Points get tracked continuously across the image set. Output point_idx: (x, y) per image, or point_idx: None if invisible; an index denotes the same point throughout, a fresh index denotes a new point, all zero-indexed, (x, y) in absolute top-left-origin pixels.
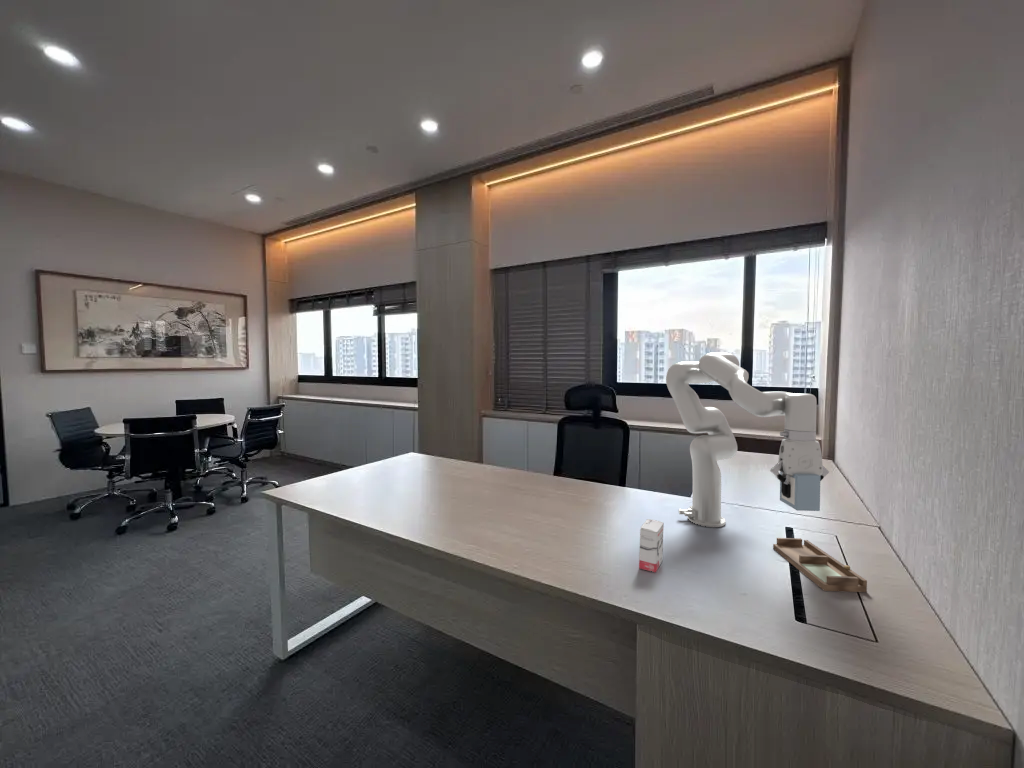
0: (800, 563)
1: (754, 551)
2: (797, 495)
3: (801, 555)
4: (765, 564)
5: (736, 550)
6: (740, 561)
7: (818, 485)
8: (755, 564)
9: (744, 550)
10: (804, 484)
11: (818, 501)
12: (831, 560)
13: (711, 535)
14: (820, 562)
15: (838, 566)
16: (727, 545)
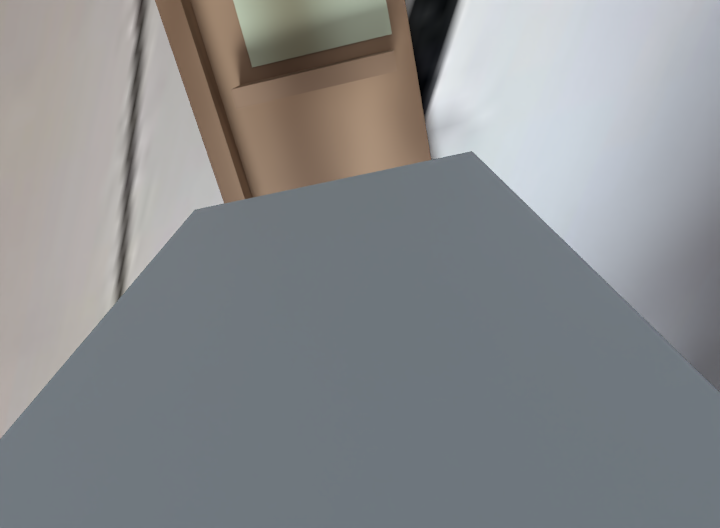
0: (393, 43)
1: (561, 214)
2: (540, 221)
3: (386, 64)
4: (569, 47)
5: (657, 200)
6: (702, 48)
7: (26, 459)
8: (629, 29)
9: (611, 212)
10: (446, 403)
11: (174, 256)
12: (212, 89)
13: (709, 356)
14: (277, 76)
15: (192, 23)
16: (679, 253)
